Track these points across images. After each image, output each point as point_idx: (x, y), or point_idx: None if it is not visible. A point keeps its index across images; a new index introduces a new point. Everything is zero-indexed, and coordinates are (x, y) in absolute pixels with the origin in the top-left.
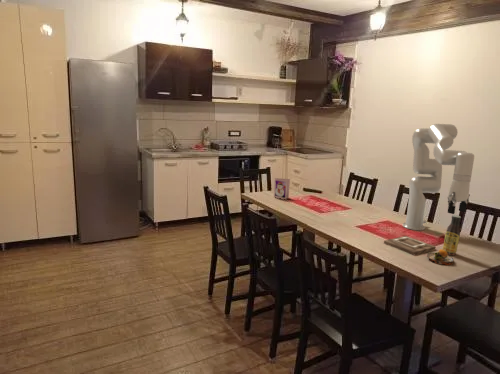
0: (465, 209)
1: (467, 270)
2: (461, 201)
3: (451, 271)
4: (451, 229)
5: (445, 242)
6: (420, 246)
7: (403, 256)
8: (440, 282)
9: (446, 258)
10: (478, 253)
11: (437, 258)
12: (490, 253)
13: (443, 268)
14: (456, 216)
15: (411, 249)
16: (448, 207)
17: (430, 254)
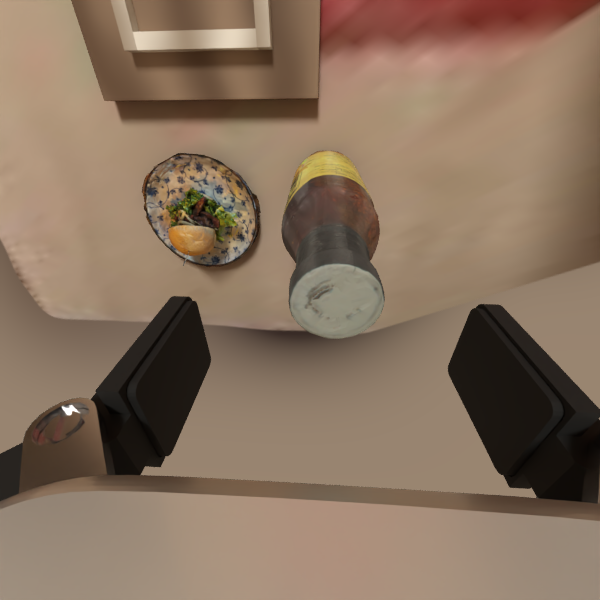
0: (468, 401)
1: (228, 310)
2: (585, 481)
3: (164, 291)
4: (287, 242)
5: (292, 185)
6: (205, 49)
7: (42, 84)
8: (68, 314)
9: (242, 223)
10: (459, 251)
11: (175, 220)
12: (505, 275)
13: (154, 266)
14: (323, 309)
15: (115, 53)
16: (134, 350)
17: (194, 160)
